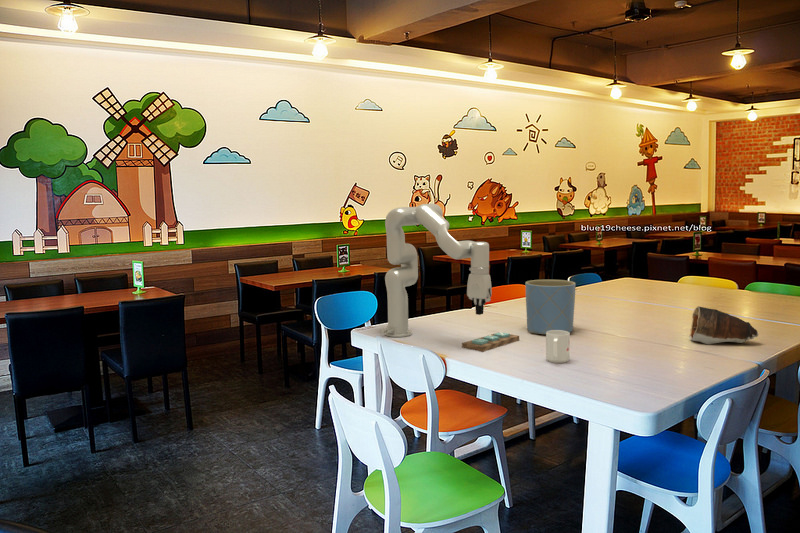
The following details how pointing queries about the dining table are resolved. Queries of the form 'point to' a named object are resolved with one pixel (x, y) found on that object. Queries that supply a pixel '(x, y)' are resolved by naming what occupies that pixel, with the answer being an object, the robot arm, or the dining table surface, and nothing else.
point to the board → (490, 343)
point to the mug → (557, 346)
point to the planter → (550, 305)
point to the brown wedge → (719, 327)
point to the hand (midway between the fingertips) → (479, 314)
